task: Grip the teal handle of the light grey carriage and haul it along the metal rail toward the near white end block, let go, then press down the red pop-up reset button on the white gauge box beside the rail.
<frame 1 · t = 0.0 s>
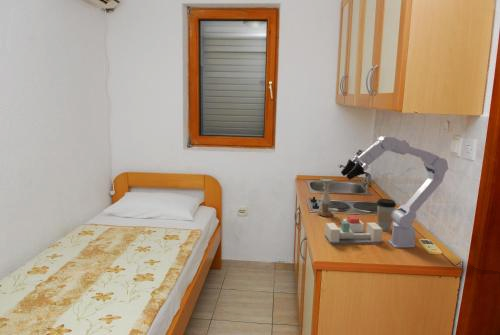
hand: (344, 176, 173), 32 cm above the counter, tool tilted 50°, fingers open, 7 cm apart
rail bench: (352, 240, 186), on the counter
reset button: (353, 221, 197), point 5 cm above the counter, slide at 0.0 cm
carriage: (345, 229, 185), point 5 cm above the counter, slide at 0.0 cm
gauge box: (352, 231, 198), on the counter
coffee cup: (383, 229, 201), on the counter
candle holder: (324, 214, 224), on the counter
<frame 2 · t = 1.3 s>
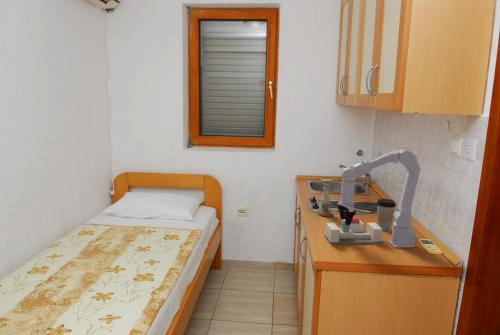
hand: (345, 222, 184), 9 cm above the counter, tool pointing down, fingers open, 7 cm apart
nothing on the counter moved.
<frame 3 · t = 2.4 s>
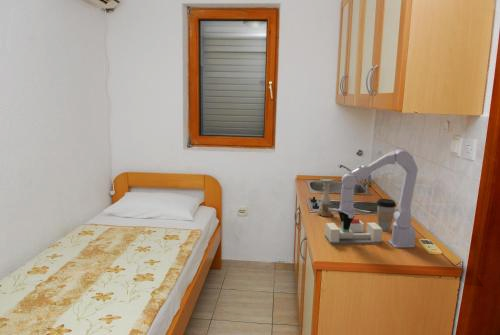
hand: (345, 228, 185), 6 cm above the counter, tool pointing down, fingers closed on carriage, 3 cm apart
carriage: (345, 229, 185), point 5 cm above the counter, slide at 0.0 cm, touching gripper
everything else where it was.
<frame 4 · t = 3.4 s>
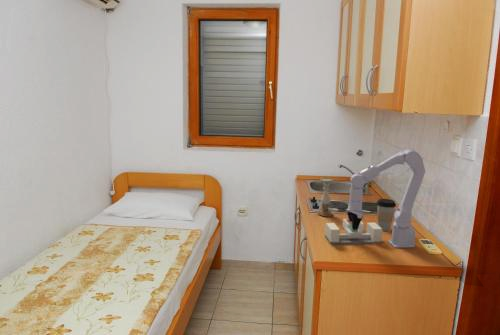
hand: (353, 228, 185), 6 cm above the counter, tool pointing down, fingers closed on carriage, 3 cm apart
carriage: (353, 229, 185), point 5 cm above the counter, slide at 4.1 cm, touching gripper
everything else where it was.
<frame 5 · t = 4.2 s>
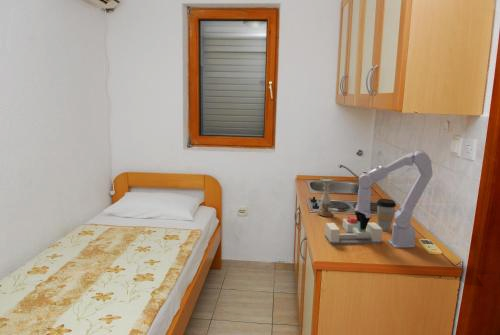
hand: (361, 227, 185), 6 cm above the counter, tool pointing down, fingers closed on carriage, 3 cm apart
carriage: (361, 229, 185), point 5 cm above the counter, slide at 7.8 cm, touching gripper
everything else where it was.
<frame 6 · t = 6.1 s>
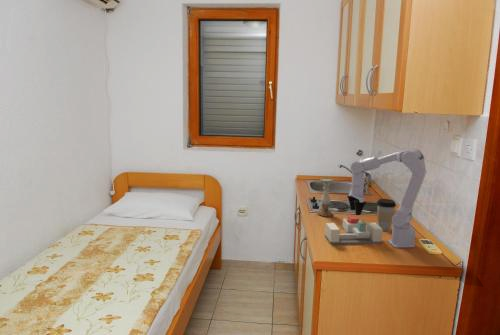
hand: (355, 212, 194), 11 cm above the counter, tool pointing down, fingers open, 7 cm apart
carriage: (361, 229, 185), point 5 cm above the counter, slide at 7.8 cm
everything else where it was.
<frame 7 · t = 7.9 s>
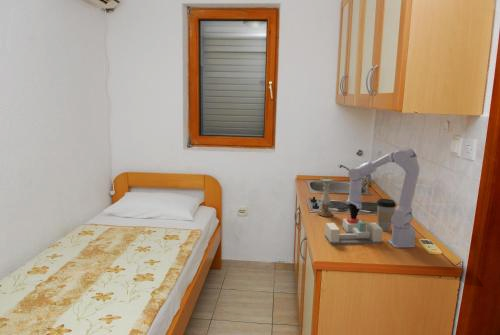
hand: (353, 218, 197), 7 cm above the counter, tool pointing down, fingers closed, pressing on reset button
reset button: (353, 221, 197), point 5 cm above the counter, slide at 0.4 cm, touching gripper
everything else where it was.
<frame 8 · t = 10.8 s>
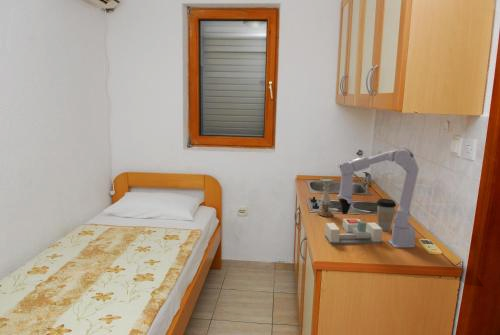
hand: (344, 213, 192), 10 cm above the counter, tool pointing down, fingers closed
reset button: (353, 224, 197), point 4 cm above the counter, slide at 1.6 cm
everything else where it was.
at the end: carriage slide at 7.8 cm; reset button slide at 1.6 cm; the gripper is holding nothing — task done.
